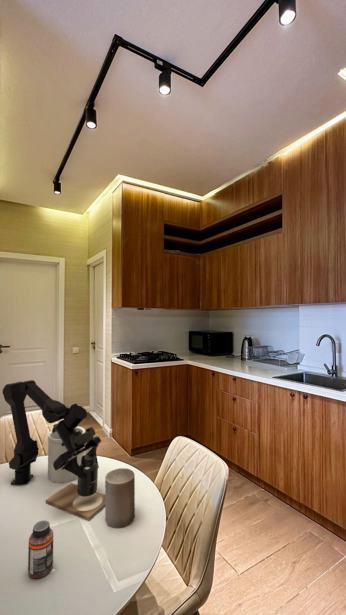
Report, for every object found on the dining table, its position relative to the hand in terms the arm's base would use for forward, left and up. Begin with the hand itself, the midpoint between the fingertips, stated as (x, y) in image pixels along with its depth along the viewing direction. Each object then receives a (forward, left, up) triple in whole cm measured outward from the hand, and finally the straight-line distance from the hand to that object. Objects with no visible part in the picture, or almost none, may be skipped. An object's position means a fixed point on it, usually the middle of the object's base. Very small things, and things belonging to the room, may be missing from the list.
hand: (90, 473), depth 102 cm
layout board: (-3, -5, -11) cm, 12 cm away
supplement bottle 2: (-1, -1, -7) cm, 7 cm away
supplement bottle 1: (+25, -7, -11) cm, 29 cm away
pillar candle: (+6, +11, -11) cm, 17 cm away
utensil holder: (-22, -15, -11) cm, 29 cm away
